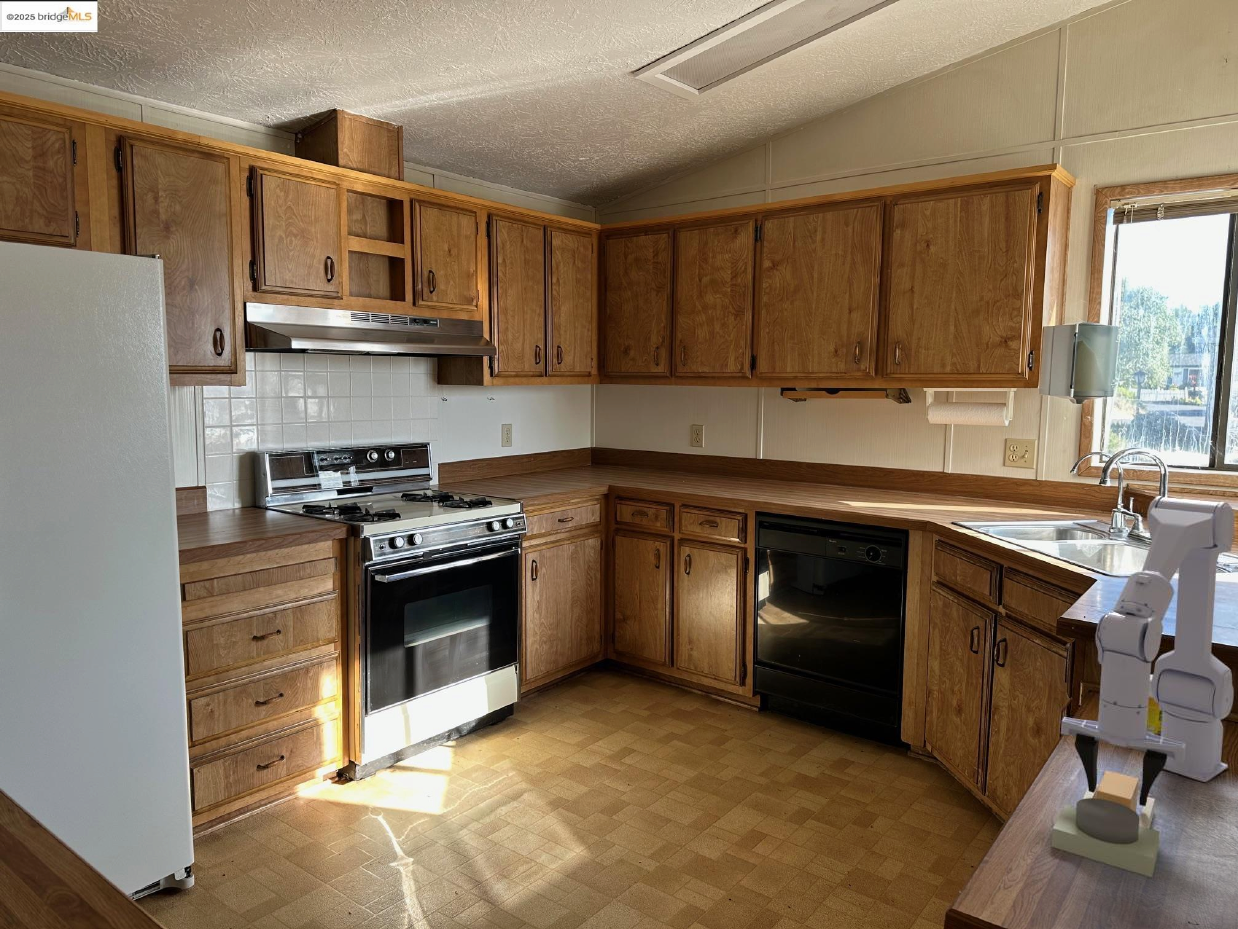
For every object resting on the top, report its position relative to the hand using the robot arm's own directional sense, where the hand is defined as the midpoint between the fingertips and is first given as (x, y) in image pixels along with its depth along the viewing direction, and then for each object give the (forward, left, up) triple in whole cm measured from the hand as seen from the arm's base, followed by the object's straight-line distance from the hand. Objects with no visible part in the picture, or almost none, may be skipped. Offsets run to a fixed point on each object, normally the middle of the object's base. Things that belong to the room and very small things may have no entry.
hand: (1117, 796), depth 115 cm
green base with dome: (+4, +1, -3) cm, 5 cm away
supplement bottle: (-37, -10, -3) cm, 38 cm away
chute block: (0, 0, -3) cm, 3 cm away
